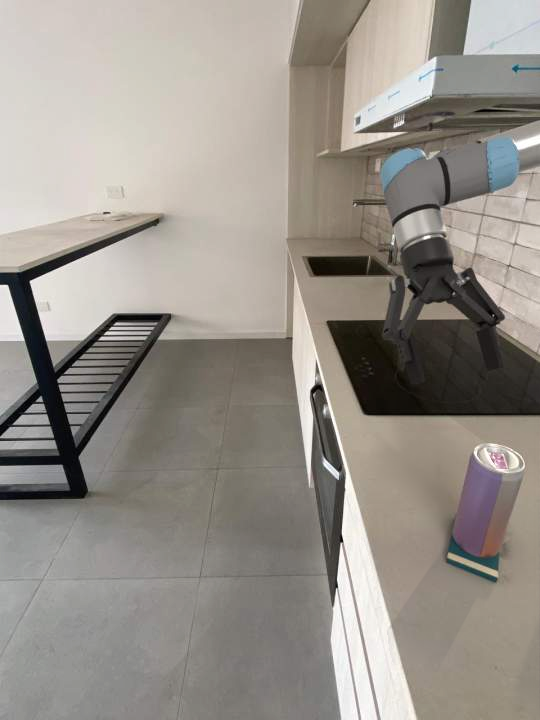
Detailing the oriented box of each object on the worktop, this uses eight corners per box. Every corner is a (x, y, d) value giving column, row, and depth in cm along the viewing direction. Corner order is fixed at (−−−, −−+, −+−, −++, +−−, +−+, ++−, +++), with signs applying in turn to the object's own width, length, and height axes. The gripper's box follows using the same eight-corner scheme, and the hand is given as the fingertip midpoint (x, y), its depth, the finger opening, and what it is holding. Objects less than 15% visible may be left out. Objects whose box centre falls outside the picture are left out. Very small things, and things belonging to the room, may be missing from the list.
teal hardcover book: (455, 516, 60) (456, 512, 60) (499, 532, 57) (501, 528, 57) (446, 562, 53) (447, 558, 53) (496, 583, 50) (497, 578, 50)
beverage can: (453, 555, 53) (475, 468, 47) (449, 521, 58) (468, 438, 52) (503, 566, 52) (532, 477, 45) (494, 530, 57) (519, 446, 50)
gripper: (473, 250, 69) (507, 368, 66) (342, 263, 64) (371, 392, 60) (506, 228, 62) (545, 359, 59) (361, 241, 57) (396, 386, 53)
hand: (457, 376), depth 59 cm, fingers open, 13 cm apart
